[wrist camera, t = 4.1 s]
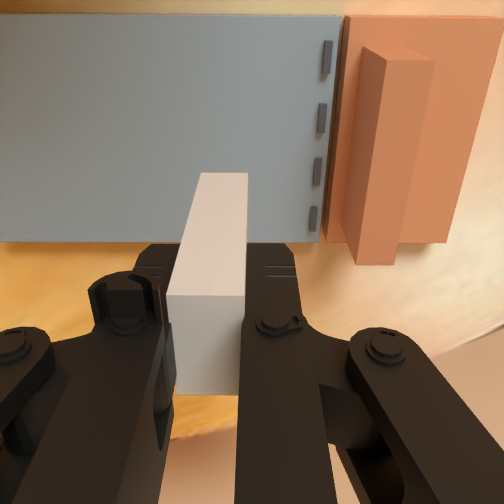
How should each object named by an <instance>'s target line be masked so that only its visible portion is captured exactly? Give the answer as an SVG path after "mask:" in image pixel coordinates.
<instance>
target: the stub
mask: <svg viewBox="0 0 504 504" xmlns="http://www.w3.org/2000/svg"><path fill="white" fill-rule="evenodd" d="M503 30H504V18H499V17H492V16H362V15H345V23H344V33H343V42H342V52H341V62H340V72H339V82H338V91H337V101H336V111H335V121H334V130H333V140H332V150H331V160H330V169H329V179H328V189H327V199H326V209H325V218H324V228H323V232H324V236H325V239H326V242H327V243H348V246H349V248H350V251H351V254H352V256H353V259H354V262H355V264H356V265H394V262H395V257H396V252H397V247H398V243H446V241H447V237H448V234H449V230H450V226H451V223H452V219H453V215H454V211H455V208H456V204H457V200H458V197H459V193H460V189H461V186H462V182H463V178H464V174H465V171H466V167H467V163H468V160H469V156H470V152H471V148H472V145H473V141H474V137H475V134H476V130H477V126H478V123H479V119H480V115H481V111H482V108H483V104H484V100H485V97H486V93H487V89H488V85H489V82H490V78H491V74H492V71H493V67H494V63H495V60H496V56H497V52H498V48H499V45H500V41H501V37H502V34H503Z"/></svg>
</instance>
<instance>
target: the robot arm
mask: <svg viewBox="0 0 504 504" xmlns="http://www.w3.org/2000/svg"><path fill="white" fill-rule="evenodd" d="M88 295H89V299H90V304H91V308H92V313H93V317H94V322H95V326H94V328H93V330H92V332H91V333H88V334H86V335H83V336H79V337H76V338H71V339H66V340H61V341H57V342H52V343H51V341H50V337H49V336H48V335H47V334H46V332H45V331H44V330H41V329H38V328H36V327H17V328H12V329H7V330H4V331H2V332H0V504H158V500H159V494H160V489H161V484H162V478H163V472H164V467H165V462H166V456H167V450H168V445H169V440H170V434H171V429H172V423H173V418H174V409H173V399H172V396H173V391H174V386H175V381H176V389H177V395H239V397H238V422H237V447H236V448H237V449H236V471H235V498H234V504H338V503H337V498H336V491H335V484H334V478H333V472H332V466H331V460H330V453H329V447H328V443H330V444H334V445H335V446H336V451H337V453H338V455H339V457H340V460H341V462H342V464H343V466H344V468H345V471H346V473H347V475H348V477H349V479H350V482H351V484H352V486H353V489H354V491H355V493H356V495H357V497H358V500H359V502H360V504H504V451H503V449H502V448H501V447H500V446H499V444H498V443H497V442H496V441H495V440H494V438H493V437H492V436H491V435H490V433H489V432H488V431H487V430H486V428H485V427H484V426H483V425H482V423H481V422H480V421H479V420H478V419H477V417H476V416H475V415H474V414H473V412H472V411H471V410H470V409H469V407H468V406H467V405H466V404H465V402H464V401H463V400H462V399H461V398H460V397H459V395H458V394H457V393H456V392H455V390H454V389H453V388H452V387H451V385H450V384H449V383H448V382H447V381H446V379H445V378H444V377H443V375H442V374H441V373H440V372H439V370H438V369H437V368H436V367H435V366H434V364H433V363H432V362H431V361H430V359H429V358H428V357H427V355H426V354H425V353H424V352H423V351H422V349H421V348H420V347H419V346H418V345H417V344H416V343H415V342H414V341H413V340H412V339H411V338H409V337H408V336H406V335H404V334H402V333H400V332H398V331H396V330H391V329H387V328H383V327H379V328H367V329H364V330H361V331H358V332H357V333H356V334H355V335H354V336H352V337H351V340H350V341H345V340H341V339H337V338H333V337H330V336H327V335H324V334H322V333H320V332H318V331H316V330H315V329H314V328H312V327H311V326H310V325H309V324H308V322H307V320H306V318H305V317H304V316H303V314H302V308H301V302H300V295H299V288H298V282H297V277H296V268H295V261H294V255H293V253H292V252H291V251H290V249H289V248H288V247H287V246H286V245H285V244H281V243H248V173H201V174H200V178H199V181H198V185H197V188H196V192H195V195H194V199H193V202H192V206H191V209H190V213H189V216H188V220H187V223H186V227H185V230H184V234H183V237H182V241H181V244H151V245H150V246H148V247H147V248H146V249H145V250H144V251H142V252H141V253H140V254H139V256H138V259H137V261H136V263H135V268H133V270H132V271H122V272H116V273H113V274H110V275H106V276H104V277H102V278H100V279H99V280H97V281H95V282H94V283H93V284H92V285H91V286H90V287H89V289H88Z"/></svg>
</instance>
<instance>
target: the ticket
mask: <svg viewBox="0 0 504 504" xmlns="http://www.w3.org/2000/svg"><path fill="white" fill-rule="evenodd" d="M340 19H341V17H338V16H336V15H225V14H87V13H0V242H181V241H182V237H183V234H184V230H185V227H186V223H187V220H188V216H189V213H190V209H191V206H192V202H193V199H194V195H195V192H196V188H197V185H198V181H199V178H200V174H201V173H248V242H255V243H319V234H320V223H321V213H322V203H323V193H324V182H325V172H326V162H327V152H328V142H329V131H330V121H331V111H332V101H333V90H334V80H335V70H336V60H337V50H338V39H339V29H340Z"/></svg>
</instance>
